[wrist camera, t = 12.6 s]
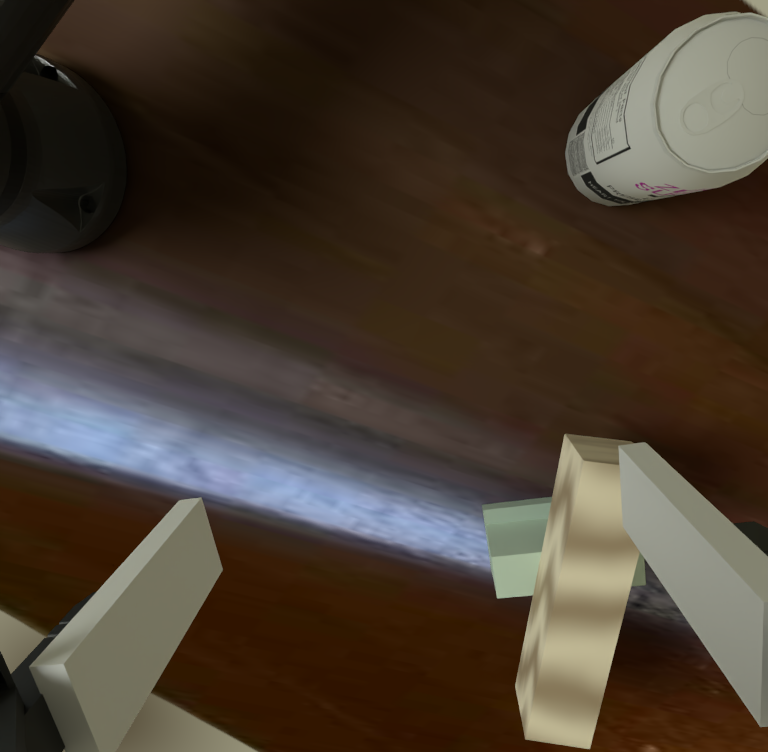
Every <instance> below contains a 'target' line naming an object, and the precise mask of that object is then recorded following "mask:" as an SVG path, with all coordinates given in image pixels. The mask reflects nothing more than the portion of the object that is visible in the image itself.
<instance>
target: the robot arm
mask: <svg viewBox="0 0 768 752" xmlns="http://www.w3.org/2000/svg"><path fill="white" fill-rule="evenodd" d="M73 2H74V0H0V245H3V246H5V247H8V248H11V249H15V250H19V251H24V252H32V253H58V252H67V251H72V250H75V249H78V248H81V247H83V246H85V245H87V244H89V243H91V242H92V241H94V240H95V239H97V238H98V237H99V236H100V235H101V234H102V233H103V232H104V231H105V230H106V229H107V228H108V227H109V226H110V224H111V223H112V221H113V220H114V218H115V217H116V215H117V213H118V211H119V208H120V206H121V203H122V200H123V197H124V193H125V187H126V179H127V163H126V154H125V148H124V144H123V140H122V137H121V134H120V131H119V128H118V126H117V123H116V121H115V119H114V117H113V115H112V113H111V112H110V110H109V108H108V107H107V105H106V104H105V102H104V101H103V99H102V98H101V97H100V96H99V94H98V93H97V92H96V91H95V90H94V89H93V88H92V87H91V86H90V85H89V84H88V83H87V82H86V81H85V80H84V79H83V78H81V77H80V76H79V75H77V74H76V73H75V72H73V71H71V70H70V69H68V68H66V67H64V66H62V65H60V64H58V63H56V62H54V61H52V60H50V59H48V58H46V57H44V56H41V55H39V54H36V53H37V52H38V50H39V49H40V48H41V46H42V45H43V43H44V42H45V41H46V39H47V38H48V36H49V35H50V34H51V32H52V31H53V29H54V28H55V27H56V25H57V24H58V22H59V21H60V20H61V18H62V17H63V16H64V14H65V13H66V11H67V10H68V9H69V7H70V6H71V4H72V3H73ZM618 447H619V465H620V484H621V502H622V520H623V528H624V529H625V531H626V532H627V534H628V535H629V536H630V538H631V539H632V541H633V542H634V544H635V545H636V547H637V548H638V550H639V551H640V553H641V554H642V555H643V557H644V558H645V560H646V561H647V563H648V564H649V566H650V567H651V569H652V570H653V571H654V573H655V574H656V576H657V577H658V579H659V580H660V582H661V583H662V585H663V586H664V587H665V589H666V590H667V592H668V593H669V595H670V596H671V598H672V599H673V601H674V602H675V603H676V605H677V606H678V608H679V609H680V611H681V612H682V614H683V615H684V617H685V618H686V619H687V621H688V622H689V624H690V625H691V627H692V628H693V630H694V631H695V633H696V634H697V635H698V637H699V638H700V640H701V641H702V643H703V644H704V646H705V647H706V649H707V650H708V651H709V653H710V654H711V656H712V657H713V659H714V660H715V662H716V663H717V665H718V666H719V667H720V669H721V670H722V672H723V673H724V675H725V676H726V678H727V679H728V681H729V682H730V683H731V685H732V686H733V688H734V689H735V691H736V692H737V694H738V695H739V697H740V698H741V700H742V701H743V702H744V704H745V705H746V707H747V708H748V710H749V711H750V713H751V714H752V716H753V717H754V718H755V720H756V721H757V723H758V724H759V726H760V727H767V726H768V528H766V527H764V526H762V525H760V524H758V523H756V522H744V523H735V524H732V523H731V522H730V521H729V520H728V519H727V518H726V517H725V516H724V515H723V514H722V513H721V512H720V511H718V510H717V509H716V508H715V507H714V506H713V505H712V504H711V503H710V502H709V501H708V500H707V499H706V498H705V497H703V496H702V495H701V494H700V493H699V492H698V491H697V490H696V489H695V488H694V487H693V486H692V485H691V484H690V483H688V482H687V481H686V480H685V479H684V478H683V477H682V476H681V475H680V474H679V473H678V472H677V471H676V470H675V469H673V468H672V467H671V466H670V465H669V464H668V463H667V462H666V461H665V460H664V459H663V458H662V457H661V456H660V455H658V454H657V453H656V452H655V451H654V450H653V449H652V448H651V447H650V446H649V445H648V444H647V443H646V442H643V443H635V444H627V445H619V446H618ZM222 570H223V569H222V566H221V562H220V559H219V555H218V552H217V549H216V545H215V542H214V538H213V535H212V532H211V528H210V525H209V521H208V518H207V515H206V511H205V508H204V504H203V501H202V498H194V499H186V500H179V501H178V502H177V504H176V505H175V506H174V507H173V508H172V509H171V510H170V511H169V512H168V514H167V515H166V516H165V517H164V518H163V519H162V520H161V521H160V522H159V524H158V525H157V526H156V527H155V528H154V529H153V530H152V531H151V532H150V533H149V535H148V536H147V537H146V538H145V539H144V540H143V541H142V542H141V543H140V545H139V546H138V547H137V548H136V549H135V550H134V551H133V552H132V553H131V555H130V556H129V557H128V558H127V559H126V560H125V561H124V562H123V563H122V564H121V566H120V567H119V568H118V569H117V570H116V571H115V572H114V573H113V574H112V576H111V577H110V578H109V579H108V580H107V581H106V582H105V583H104V584H103V585H102V587H101V588H100V589H99V590H98V591H97V592H93V593H92V594H91V595H89V596H88V597H86V598H85V599H84V600H82V601H81V602H80V603H78V604H77V605H75V606H74V607H73V608H72V609H71V610H70V611H69V612H68V613H67V615H66V616H65V617H64V618H63V619H62V620H61V621H60V622H59V623H60V624H59V625H56V626H55V627H54V629H53V630H52V631H51V632H50V633H49V634H48V637H47V638H44V639H43V640H42V642H41V643H40V644H39V645H38V646H37V647H36V648H35V649H34V650H33V651H32V652H31V653H30V654H29V655H28V657H27V658H26V659H25V660H24V661H23V662H22V663H21V664H20V665H19V666H18V667H17V669H15V671H14V672H13V673H12V674H10V672H9V669H8V667H7V665H6V663H5V660H4V658H3V656H2V654H1V652H0V752H62V751H63V749H65V751H66V752H116V750H117V748H118V747H119V745H120V743H121V742H122V740H123V738H124V737H125V735H126V733H127V732H128V730H129V728H130V726H131V725H132V723H133V721H134V720H135V718H136V716H137V715H138V713H139V711H140V709H141V708H142V706H143V704H144V703H145V701H146V699H147V698H148V696H149V694H150V692H151V691H152V689H153V687H154V686H155V684H156V682H157V681H158V679H159V677H160V675H161V674H162V672H163V670H164V669H165V667H166V665H167V664H168V662H169V660H170V658H171V657H172V655H173V653H174V652H175V650H176V648H177V647H178V645H179V643H180V642H181V640H182V638H183V636H184V635H185V633H186V631H187V630H188V628H189V626H190V625H191V623H192V621H193V619H194V618H195V616H196V614H197V613H198V611H199V609H200V608H201V606H202V604H203V602H204V601H205V599H206V597H207V596H208V594H209V592H210V591H211V589H212V587H213V585H214V584H215V582H216V580H217V579H218V577H219V575H220V574H221V572H222Z"/></svg>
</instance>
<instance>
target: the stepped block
mask: <svg viewBox="0 0 768 752" xmlns="http://www.w3.org/2000/svg"><path fill="white" fill-rule="evenodd" d="M551 501H552V497H546V498H537V499H528V500H520V501H511V502H502V503H493V504H484V505H482V509H483V516H484V523H485V530H486V537H487V544H488V551H489V558H490V565H491V571H492V576H493V579H494V584H495V589H496V594H497V598H508V597H519V596H530V595H533V593H534V588H535V583H536V578H537V572H538V567H539V562H540V557H541V552H542V547H543V542H544V537H545V532H546V527H547V521H548V516H549V511H550V506H551ZM642 585H646V579H645V562H644V557H643V555H642V554H641V553H639V557H638V561H637V565H636V569H635V573H634V577H633V581H632V585H631V586H642Z"/></svg>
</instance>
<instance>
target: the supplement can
mask: <svg viewBox="0 0 768 752" xmlns="http://www.w3.org/2000/svg"><path fill="white" fill-rule="evenodd" d="M565 156H566V163H567V169H568V174H569V176H570V178H571V179H572V181H573V183H574V185H575V186H576V188H577V190H578V191H580V192H581V193H582V194H583V195H585V196H586V197H587V198H589V199H590V200H591V201H593V202H597V203H600V204H603V205H607V206H620V205H630V204H636V203H641V202H646V201H651V200H656V199H662V198H667V197H672V196H677V195H682V194H687V193H693V192H698V191H703V190H708V189H713V188H719V187H722V186H724V185H726V184H729V183H731V182H733V181H736V180H738V179H740V178H743V177H745V176H747V175H749V174H750V173H751V172H752V171H753V170H755V169H756V168H757V167H758V166H759V165H761V164H762V163H763V162H764V161H765V160H767V159H768V17H764V16H761V15H757V14H754V13H739V12H727V13H718V14H709V15H703V16H701V17H699V18H697V19H695V20H693V21H691V22H689V23H687V24H685V25H683V26H681V27H679V28H677V29H675V30H674V31H673V32H671V33H670V34H669V35H668V36H667V37H666V38H665V39H663V40H662V41H661V42H660V43H659V44H658V45H657V46H655V47H654V48H653V49H652V50H651V51H650V52H649V53H647V54H646V55H645V56H644V57H643V58H642V59H640V60H639V61H638V62H637V63H636V64H635V65H634V66H632V67H631V68H630V69H629V70H628V71H627V72H626V73H624V74H623V75H622V76H621V77H620V78H619V79H618V80H616V81H615V82H614V83H613V84H612V85H611V86H610V87H608V88H607V89H606V90H605V91H604V92H603V93H602V94H600V95H599V96H598V97H597V98H596V99H595V100H594V101H593V102H592V103H591V104H589V105H588V106H587V107H586V108H585V109H584V110H583V111H582V112H581V113H580V114H579V116H578V117H577V119H576V121H575V123H574V125H573V127H572V129H571V130H570V132H569V135H568V141H567V146H566V152H565Z"/></svg>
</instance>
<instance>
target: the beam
mask: <svg viewBox="0 0 768 752" xmlns="http://www.w3.org/2000/svg"><path fill="white" fill-rule="evenodd" d="M627 444H634V443H633V442H632V441H623V440H614V439H606V438H597V437H588V436H579V435H571V434H565V435H564V440H563V445H562V450H561V455H560V460H559V465H558V470H557V476H556V481H555V486H554V491H553V496H552V501H551V506H550V511H549V516H548V521H547V527H546V532H545V537H544V542H543V547H542V552H541V557H540V562H539V567H538V572H537V578H536V583H535V588H534V593H533V598H532V603H531V608H530V613H529V618H528V623H527V629H526V634H525V639H524V644H523V649H522V654H521V659H520V664H519V669H518V674H517V680H516V685H515V687H516V693H517V698H518V703H519V708H520V714H521V719H522V724H523V729H524V734H525V739H527V740H533V741H540V742H546V743H553V744H560V745H566V746H573V747H579V748H586V749H590V746H591V742H592V738H593V734H594V730H595V726H596V722H597V718H598V715H599V711H600V707H601V703H602V699H603V695H604V691H605V687H606V683H607V679H608V675H609V671H610V667H611V663H612V659H613V655H614V652H615V648H616V644H617V640H618V636H619V632H620V628H621V624H622V620H623V616H624V612H625V608H626V604H627V600H628V596H629V592H630V589H631V585H632V581H633V577H634V573H635V569H636V565H637V561H638V557H639V553H640V551H639V550H638V548H637V547H636V545H635V544H634V542H633V541H632V539H631V538H630V536H629V535H628V534H627V532H626V531H625V529H624V528H623V520H622V502H621V484H620V465H619V447H618V446H619V445H627Z"/></svg>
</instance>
